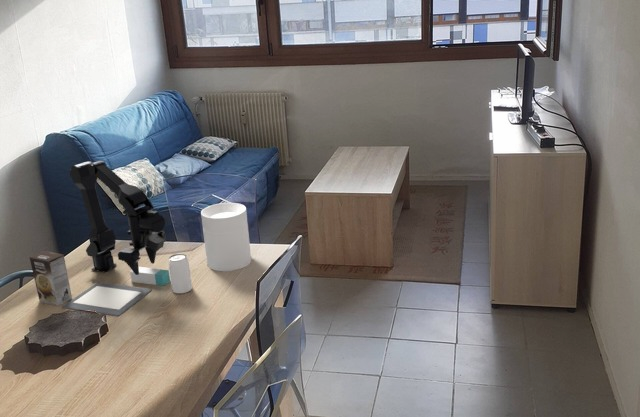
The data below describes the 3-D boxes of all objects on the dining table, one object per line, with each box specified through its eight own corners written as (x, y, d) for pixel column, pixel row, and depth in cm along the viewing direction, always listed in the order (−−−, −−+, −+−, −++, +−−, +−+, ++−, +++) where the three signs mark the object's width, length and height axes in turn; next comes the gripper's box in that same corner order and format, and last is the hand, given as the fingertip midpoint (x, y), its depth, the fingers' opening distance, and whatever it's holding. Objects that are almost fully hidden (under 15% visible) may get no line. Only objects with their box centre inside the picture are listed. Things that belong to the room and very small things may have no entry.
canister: (199, 269, 227) (192, 217, 221) (218, 251, 242) (213, 201, 235) (240, 273, 223) (235, 219, 216) (257, 254, 237) (253, 203, 230)
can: (190, 293, 210) (185, 260, 206) (170, 294, 210) (165, 261, 206) (194, 285, 216) (189, 252, 212) (175, 285, 216) (170, 253, 212)
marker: (131, 281, 221) (129, 271, 220) (138, 276, 224) (136, 266, 223) (163, 285, 217) (162, 275, 215) (170, 280, 220) (168, 270, 219)
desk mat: (62, 307, 205) (61, 306, 205) (98, 283, 221) (97, 281, 221) (118, 316, 198) (118, 314, 198) (151, 290, 214) (151, 288, 213)
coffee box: (38, 301, 210) (28, 257, 205) (54, 293, 216) (44, 249, 210) (57, 306, 206) (47, 261, 201) (73, 298, 212) (64, 253, 206)
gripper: (142, 239, 203) (149, 283, 209) (174, 218, 220) (179, 260, 225) (113, 236, 207) (121, 279, 212) (146, 216, 223) (153, 257, 229)
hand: (145, 268), depth 220 cm, fingers open, 9 cm apart
